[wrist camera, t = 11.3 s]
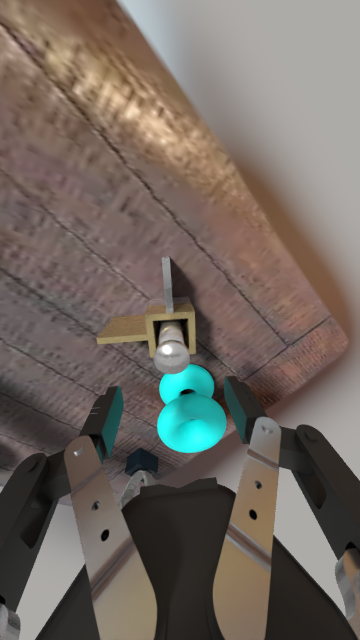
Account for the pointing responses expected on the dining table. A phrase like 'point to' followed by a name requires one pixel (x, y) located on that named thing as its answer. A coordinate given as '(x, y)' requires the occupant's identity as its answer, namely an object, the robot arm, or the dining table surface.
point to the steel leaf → (168, 294)
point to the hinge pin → (171, 348)
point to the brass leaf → (149, 327)
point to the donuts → (190, 411)
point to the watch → (139, 473)
